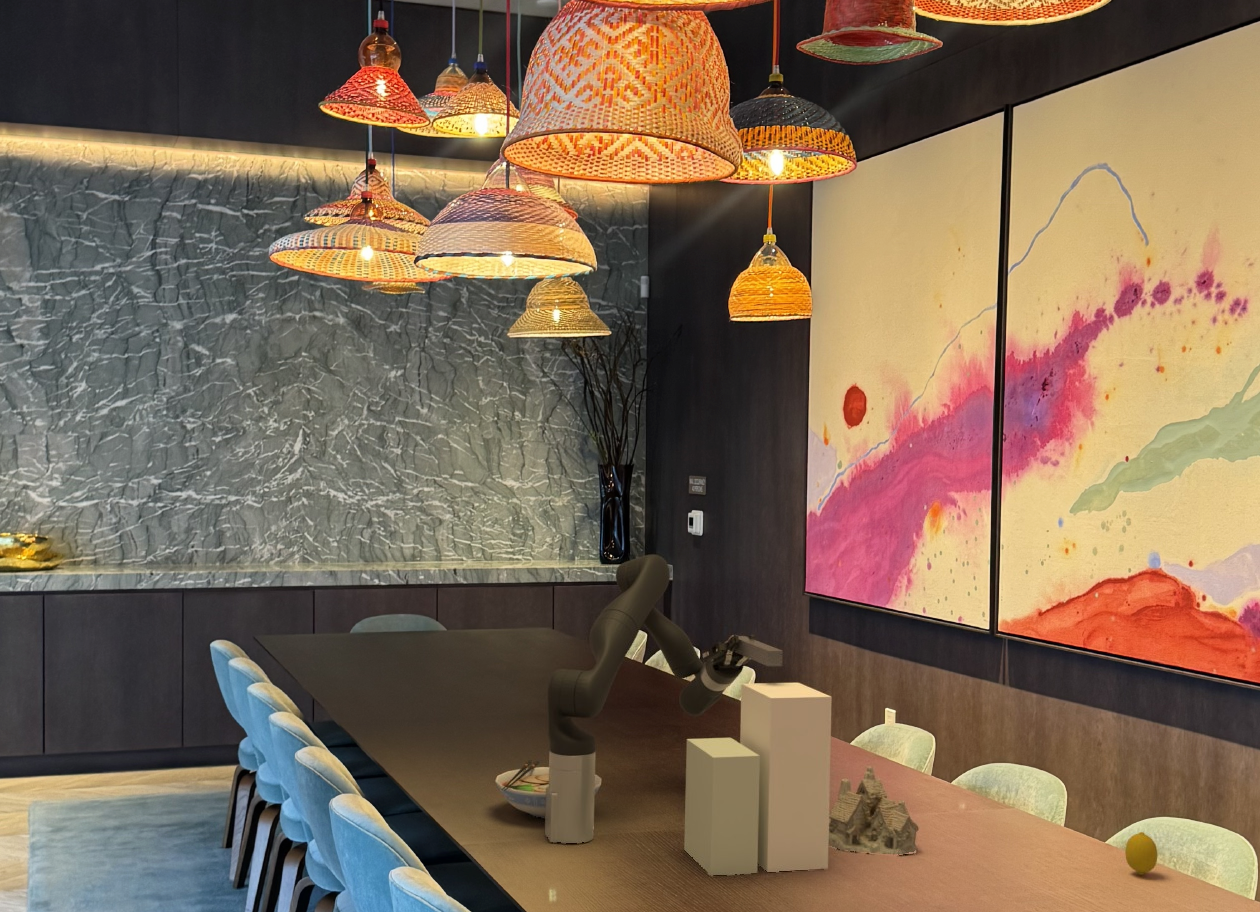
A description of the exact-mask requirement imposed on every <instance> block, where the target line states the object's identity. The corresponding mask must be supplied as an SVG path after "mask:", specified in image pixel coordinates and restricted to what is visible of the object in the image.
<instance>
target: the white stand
mask: <svg viewBox="0 0 1260 912" xmlns="http://www.w3.org/2000/svg"><path fill="white" fill-rule="evenodd" d="M740 689H741V691H740V692H741V693H740V694H741V695H740V737H739V739H740V740H739V743H740V744H742V745H743V746H745V747H746V748H748V749H750V750H751V751H753V752H754V753H756V754H758V755H759V756H760V771H759V816H758V861H757V863H758V864H759V865H760V866H761V867H762V868H763V869H764V871H765V870H766V871H767V872H776V873H780V872H779V871H790V870H808V871H810V870H809V869H821V868H828V869H829V847H828V843H829V823H830V818H829V814H830V797H831V796H830V793H831V792H830V789H831V788H830V787H831V784H830V783H831V743H832V740H831V739H832V737H831V736H832V698H833V697H832V696H831V695H828V694H826V693H823V692H821V691H819V690H817V689H815V688H813V687H809V686H808V685H805V684H803V683H801V682H765V683H763V682H761V683H759V682H757V683H741V687H740ZM758 864H757V865H758ZM759 865H758V866H759ZM760 866H759V867H760ZM761 867H760V868H761ZM762 868H761V869H762ZM763 869H762V870H763ZM766 871H765V872H766ZM767 872H766V873H767Z"/></svg>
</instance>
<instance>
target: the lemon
mask: <svg viewBox="0 0 1260 912" xmlns="http://www.w3.org/2000/svg"><path fill="white" fill-rule="evenodd" d="M1124 854H1125V858H1126V862H1127V864H1128V866H1129V867H1130V868H1131V869H1132V870H1133V871H1135V872H1137V874H1138V875H1139V876H1144V875H1145V874H1146V873H1149V872H1151V871H1152V870H1153V869H1154V868H1155V866H1156V865H1157V862H1158V848H1157V846H1156V843H1155V841H1154V839H1152V838H1151V837H1150V836H1149V835H1147V834H1145V832H1144V831H1143V832H1142V831H1139V833H1135V834H1133V835H1131V836H1130V837H1129V839H1128V840H1127V843H1126V846H1125V853H1124Z"/></svg>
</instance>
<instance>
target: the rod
mask: <svg viewBox="0 0 1260 912" xmlns="http://www.w3.org/2000/svg"><path fill="white" fill-rule="evenodd" d="M734 635H735V634H732V635H731V636H730V637H729V638H728V640H727V641H729V639H730V638H731V637H733V636H734ZM738 637H739V645H738V646H737V647H736V649H735V650H734V652H736V653H738V654H741V655H743V656H745V657H748V658H750V660H752V661H754V662H757V663H759V664H762V665H763V666H766V667H783V656H784V655H783V652H784V651H783V650H782V649H779V648H777V647H773V646H771V645H769V644H766V643H765V642H761V641H758V640H757V639H756V640H753V639H751V638H748V637H749V636H745V635H738Z"/></svg>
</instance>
